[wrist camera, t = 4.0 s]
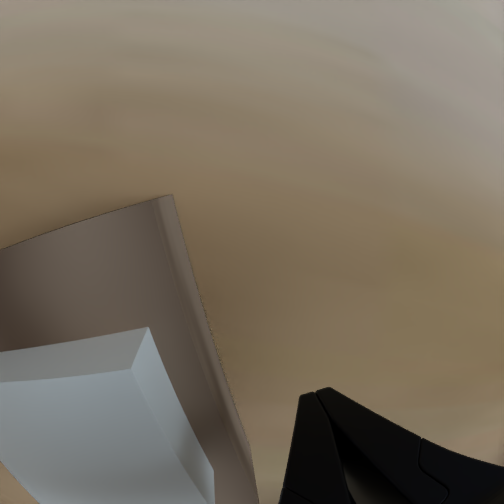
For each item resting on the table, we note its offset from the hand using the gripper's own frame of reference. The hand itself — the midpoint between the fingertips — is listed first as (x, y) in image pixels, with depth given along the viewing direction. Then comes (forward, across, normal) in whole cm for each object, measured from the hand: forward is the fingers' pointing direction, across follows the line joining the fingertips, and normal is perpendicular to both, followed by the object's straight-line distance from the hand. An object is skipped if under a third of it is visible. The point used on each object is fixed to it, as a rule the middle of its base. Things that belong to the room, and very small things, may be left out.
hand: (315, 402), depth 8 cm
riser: (+4, +8, 0) cm, 9 cm away
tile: (+1, +7, 0) cm, 7 cm away
